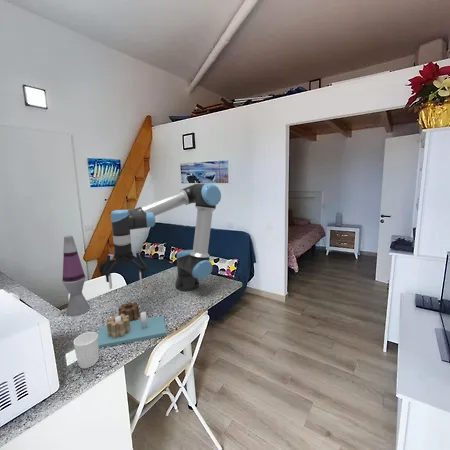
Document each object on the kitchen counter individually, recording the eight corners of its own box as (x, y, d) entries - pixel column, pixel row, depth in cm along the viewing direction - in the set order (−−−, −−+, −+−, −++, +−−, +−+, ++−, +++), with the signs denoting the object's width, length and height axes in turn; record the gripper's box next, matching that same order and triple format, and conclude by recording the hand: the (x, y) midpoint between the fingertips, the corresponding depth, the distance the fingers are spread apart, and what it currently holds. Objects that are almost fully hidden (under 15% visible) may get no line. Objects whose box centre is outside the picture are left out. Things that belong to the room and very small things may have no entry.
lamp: (61, 313, 127) (49, 237, 119) (79, 303, 137) (70, 232, 129) (76, 317, 123) (66, 239, 115) (94, 307, 133) (85, 234, 125)
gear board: (163, 318, 122) (162, 302, 120) (166, 335, 109) (165, 317, 107) (100, 329, 114) (98, 312, 112) (95, 349, 100) (93, 330, 99)
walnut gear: (139, 311, 128) (138, 300, 127) (139, 321, 120) (138, 309, 119) (120, 314, 126) (119, 303, 124) (118, 324, 117) (117, 312, 116)
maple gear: (126, 323, 115) (125, 311, 114) (133, 332, 109) (132, 319, 108) (105, 331, 110) (104, 318, 109) (111, 341, 103) (110, 328, 102)
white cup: (83, 355, 97) (79, 332, 95) (103, 354, 98) (101, 331, 96) (72, 370, 89) (69, 346, 87) (95, 369, 90) (92, 344, 88)
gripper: (150, 239, 123) (153, 279, 127) (94, 243, 115) (99, 286, 119) (150, 243, 116) (153, 285, 120) (90, 248, 108) (96, 293, 112)
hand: (126, 286), depth 120 cm, fingers open, 13 cm apart
